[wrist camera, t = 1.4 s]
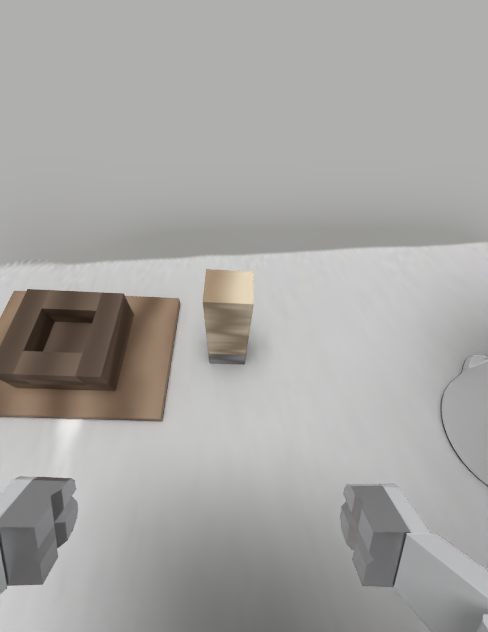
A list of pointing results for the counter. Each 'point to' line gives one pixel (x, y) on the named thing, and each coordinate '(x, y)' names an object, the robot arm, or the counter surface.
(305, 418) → the counter surface
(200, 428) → the counter surface
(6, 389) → the square hole base plate
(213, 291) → the upright wooden square peg
